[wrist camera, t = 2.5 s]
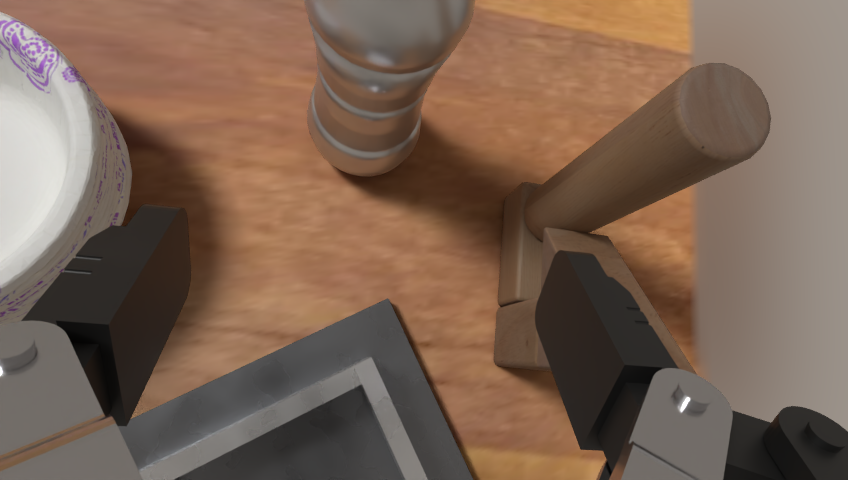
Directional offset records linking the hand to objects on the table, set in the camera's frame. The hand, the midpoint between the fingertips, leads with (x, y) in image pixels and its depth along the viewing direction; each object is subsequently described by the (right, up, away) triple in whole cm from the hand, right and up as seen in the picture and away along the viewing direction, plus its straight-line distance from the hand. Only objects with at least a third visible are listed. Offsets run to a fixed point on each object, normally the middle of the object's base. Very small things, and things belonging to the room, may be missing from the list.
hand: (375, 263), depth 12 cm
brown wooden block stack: (+7, -2, +23) cm, 24 cm away
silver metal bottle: (-3, +7, +23) cm, 24 cm away
